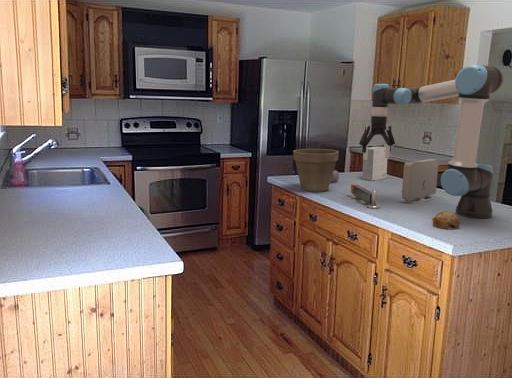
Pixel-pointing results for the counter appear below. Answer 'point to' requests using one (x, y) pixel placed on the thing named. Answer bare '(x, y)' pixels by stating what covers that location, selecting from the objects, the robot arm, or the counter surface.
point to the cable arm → (361, 192)
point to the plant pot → (315, 168)
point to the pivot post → (374, 201)
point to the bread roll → (446, 220)
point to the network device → (419, 180)
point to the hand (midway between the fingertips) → (376, 158)
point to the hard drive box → (375, 164)
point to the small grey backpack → (334, 176)
